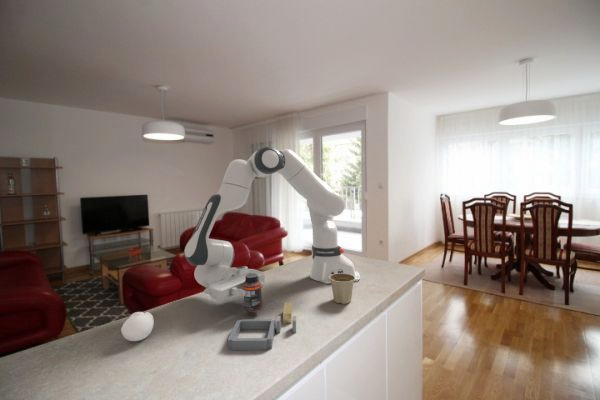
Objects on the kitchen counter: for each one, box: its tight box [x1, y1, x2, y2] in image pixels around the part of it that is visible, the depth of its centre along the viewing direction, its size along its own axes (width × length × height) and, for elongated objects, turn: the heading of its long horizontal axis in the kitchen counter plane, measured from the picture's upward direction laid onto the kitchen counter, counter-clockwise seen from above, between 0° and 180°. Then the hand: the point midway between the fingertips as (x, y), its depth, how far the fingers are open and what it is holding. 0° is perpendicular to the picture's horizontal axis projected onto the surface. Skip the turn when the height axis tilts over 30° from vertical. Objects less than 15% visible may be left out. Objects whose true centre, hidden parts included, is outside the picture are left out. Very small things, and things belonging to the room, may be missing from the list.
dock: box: [227, 315, 297, 351], centre depth 77 cm, size 18×11×4 cm, turn 89°
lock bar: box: [282, 301, 293, 324], centre depth 89 cm, size 8×2×3 cm, turn 179°
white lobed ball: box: [120, 311, 155, 342], centre depth 78 cm, size 8×8×8 cm
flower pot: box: [329, 273, 355, 305], centre depth 101 cm, size 9×9×9 cm
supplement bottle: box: [242, 273, 263, 313], centre depth 91 cm, size 6×6×11 cm
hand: (254, 289), depth 91 cm, fingers closed on supplement bottle, 6 cm apart
